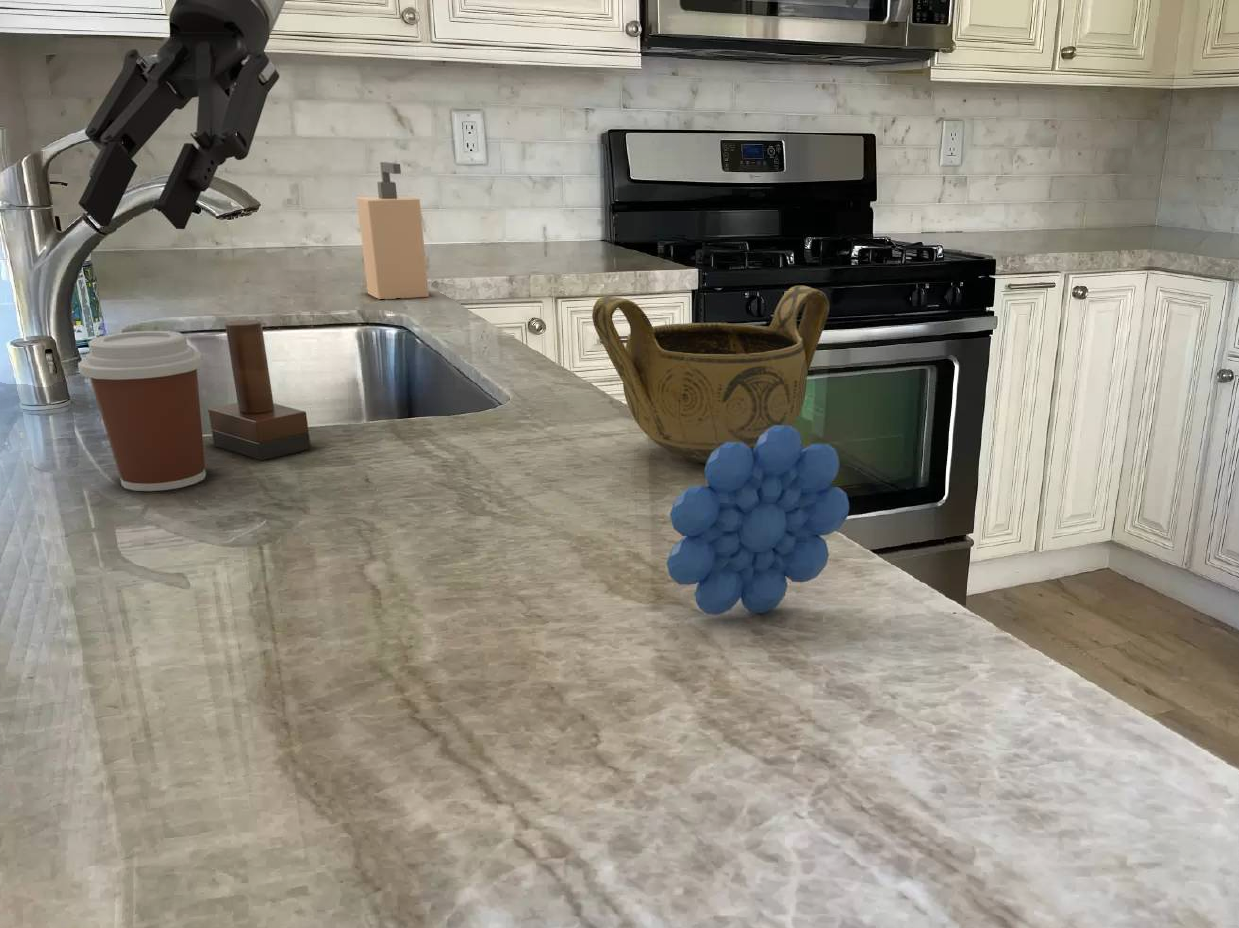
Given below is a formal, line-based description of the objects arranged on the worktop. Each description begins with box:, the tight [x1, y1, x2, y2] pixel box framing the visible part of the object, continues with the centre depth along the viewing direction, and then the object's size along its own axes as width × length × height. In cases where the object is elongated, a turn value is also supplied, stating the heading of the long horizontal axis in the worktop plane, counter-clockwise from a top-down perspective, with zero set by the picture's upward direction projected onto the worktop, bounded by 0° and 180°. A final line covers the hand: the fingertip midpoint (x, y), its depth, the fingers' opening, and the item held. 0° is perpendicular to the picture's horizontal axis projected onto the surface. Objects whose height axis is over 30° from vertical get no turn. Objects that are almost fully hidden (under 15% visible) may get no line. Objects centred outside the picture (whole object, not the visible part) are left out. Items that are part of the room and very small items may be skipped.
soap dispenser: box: [356, 161, 430, 300], centre depth 192 cm, size 13×9×22 cm
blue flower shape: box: [666, 425, 851, 616], centre depth 69 cm, size 12×7×12 cm, turn 108°
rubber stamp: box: [207, 319, 312, 461], centre depth 103 cm, size 8×5×12 cm, turn 54°
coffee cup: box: [77, 330, 207, 492], centre depth 93 cm, size 9×9×12 cm
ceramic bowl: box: [591, 285, 830, 465], centre depth 102 cm, size 22×17×15 cm
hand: (131, 215), depth 91 cm, fingers open, 6 cm apart
